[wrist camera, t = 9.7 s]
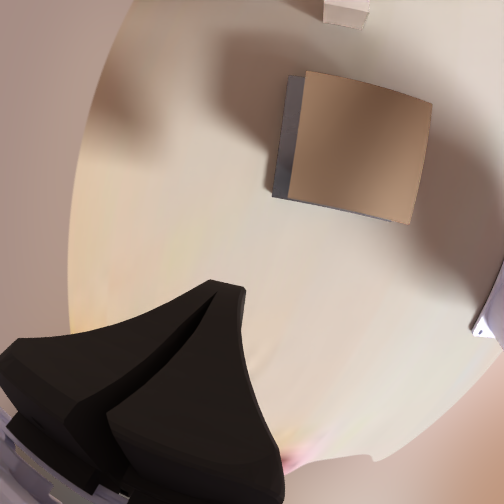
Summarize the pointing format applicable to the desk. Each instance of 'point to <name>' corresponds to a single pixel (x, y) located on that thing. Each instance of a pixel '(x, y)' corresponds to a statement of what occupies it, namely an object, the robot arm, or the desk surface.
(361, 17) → the off-white cube
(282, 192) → the post
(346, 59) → the desk surface
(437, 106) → the desk surface
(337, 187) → the brown rectangular block
